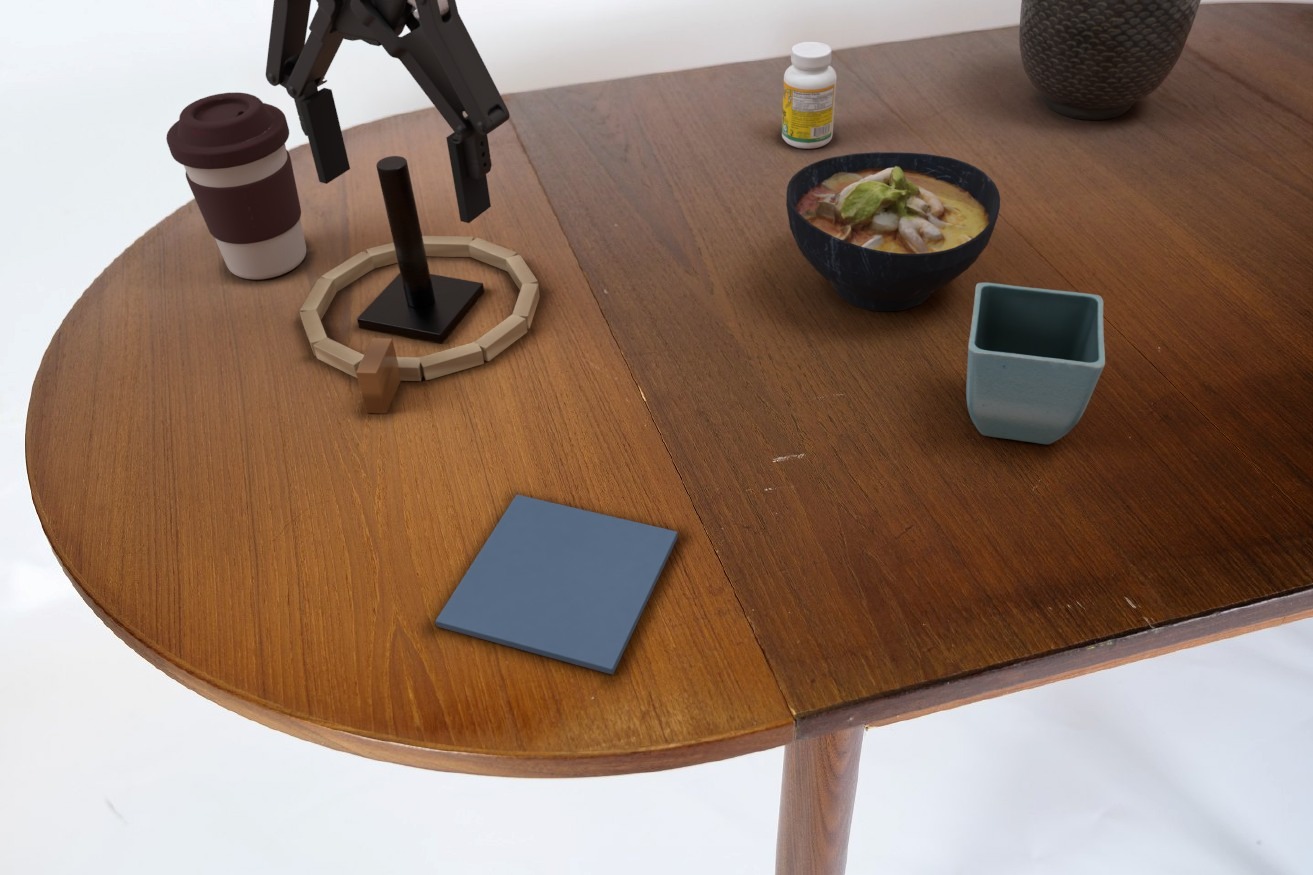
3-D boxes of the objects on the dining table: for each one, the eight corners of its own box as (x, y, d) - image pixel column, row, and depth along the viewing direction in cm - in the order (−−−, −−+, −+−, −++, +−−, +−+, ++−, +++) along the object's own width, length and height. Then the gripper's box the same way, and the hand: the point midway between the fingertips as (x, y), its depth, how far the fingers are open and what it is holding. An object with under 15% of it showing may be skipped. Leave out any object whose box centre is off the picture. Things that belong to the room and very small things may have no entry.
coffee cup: (191, 268, 105) (135, 116, 95) (276, 222, 110) (232, 74, 101) (258, 302, 100) (207, 146, 90) (344, 252, 106) (304, 100, 96)
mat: (613, 675, 68) (612, 669, 68) (436, 626, 71) (435, 620, 71) (678, 537, 76) (677, 531, 76) (517, 499, 80) (516, 493, 79)
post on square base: (442, 344, 94) (411, 194, 85) (358, 328, 96) (320, 180, 87) (484, 292, 100) (460, 146, 91) (405, 278, 102) (373, 134, 93)
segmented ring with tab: (501, 418, 87) (494, 376, 84) (254, 409, 89) (240, 368, 86) (554, 251, 104) (550, 213, 102) (347, 246, 106) (338, 209, 104)
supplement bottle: (825, 153, 117) (831, 62, 110) (775, 146, 118) (778, 57, 112) (837, 130, 120) (844, 41, 114) (788, 124, 122) (792, 36, 116)
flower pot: (959, 376, 88) (976, 279, 82) (1077, 392, 86) (1103, 293, 80) (950, 449, 82) (967, 349, 76) (1077, 468, 80) (1105, 367, 74)
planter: (1162, 74, 127) (1201, -75, 117) (1178, 144, 115) (1224, -16, 104) (1004, 66, 131) (1028, -80, 120) (1003, 133, 118) (1030, -23, 108)
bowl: (1018, 324, 93) (1040, 218, 86) (817, 357, 91) (825, 250, 84) (937, 221, 106) (951, 121, 99) (759, 248, 103) (762, 147, 97)
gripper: (538, -103, 69) (568, 207, 83) (241, -142, 79) (313, 141, 93) (463, -66, 64) (509, 256, 78) (157, -113, 74) (246, 181, 88)
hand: (403, 194), depth 85 cm, fingers open, 13 cm apart
